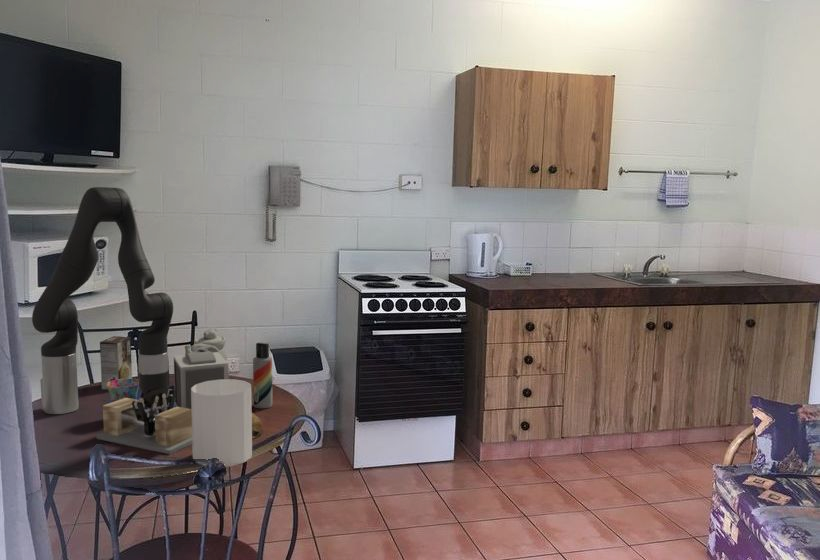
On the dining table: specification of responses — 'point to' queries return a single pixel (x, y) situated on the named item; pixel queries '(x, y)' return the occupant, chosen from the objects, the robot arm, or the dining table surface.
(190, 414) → the socket block
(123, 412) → the tube
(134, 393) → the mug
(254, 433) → the bread roll
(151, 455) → the dining table surface
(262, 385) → the lotion bottle
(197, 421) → the container
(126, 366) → the coffee box
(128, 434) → the base mat
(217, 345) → the grey lumpy piece
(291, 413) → the dining table surface
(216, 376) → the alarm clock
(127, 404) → the guide block
